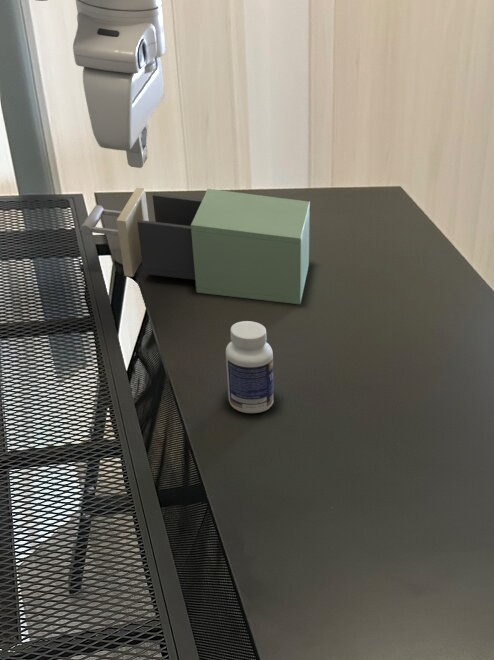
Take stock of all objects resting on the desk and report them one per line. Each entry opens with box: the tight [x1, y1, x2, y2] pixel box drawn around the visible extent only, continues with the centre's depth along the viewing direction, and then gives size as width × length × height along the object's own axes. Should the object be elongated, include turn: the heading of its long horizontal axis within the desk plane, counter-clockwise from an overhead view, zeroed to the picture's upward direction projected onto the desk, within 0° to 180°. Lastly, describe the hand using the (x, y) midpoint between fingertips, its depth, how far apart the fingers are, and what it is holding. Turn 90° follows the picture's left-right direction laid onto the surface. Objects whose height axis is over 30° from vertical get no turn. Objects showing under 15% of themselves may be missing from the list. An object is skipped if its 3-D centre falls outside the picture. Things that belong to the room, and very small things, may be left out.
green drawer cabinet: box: [191, 188, 311, 305], centre depth 122 cm, size 15×13×10 cm
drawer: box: [80, 187, 203, 281], centre depth 121 cm, size 19×11×8 cm, turn 91°
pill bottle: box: [225, 320, 275, 414], centre depth 101 cm, size 5×5×10 cm
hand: (138, 163), depth 104 cm, fingers closed
